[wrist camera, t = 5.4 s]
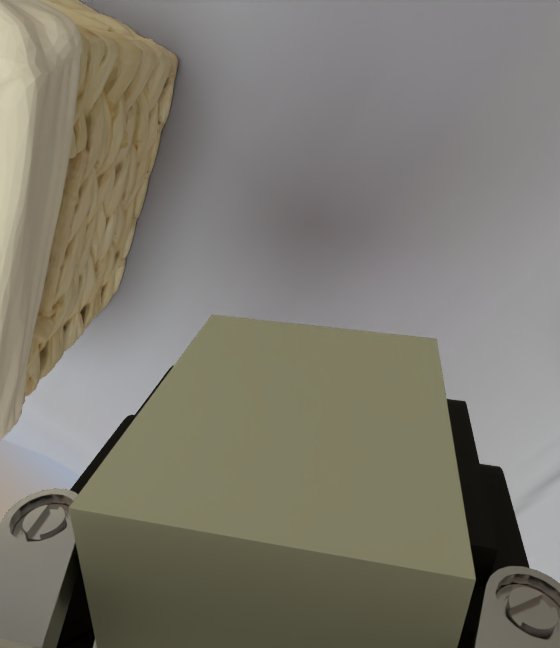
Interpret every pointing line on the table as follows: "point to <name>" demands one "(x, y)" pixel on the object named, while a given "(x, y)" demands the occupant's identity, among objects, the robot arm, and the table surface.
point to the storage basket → (68, 175)
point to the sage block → (282, 498)
